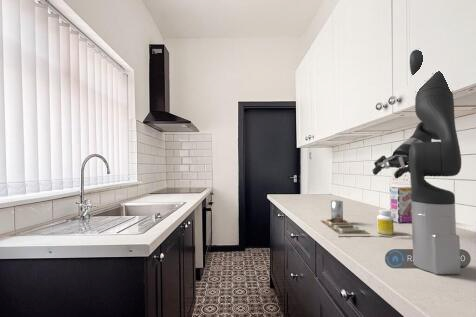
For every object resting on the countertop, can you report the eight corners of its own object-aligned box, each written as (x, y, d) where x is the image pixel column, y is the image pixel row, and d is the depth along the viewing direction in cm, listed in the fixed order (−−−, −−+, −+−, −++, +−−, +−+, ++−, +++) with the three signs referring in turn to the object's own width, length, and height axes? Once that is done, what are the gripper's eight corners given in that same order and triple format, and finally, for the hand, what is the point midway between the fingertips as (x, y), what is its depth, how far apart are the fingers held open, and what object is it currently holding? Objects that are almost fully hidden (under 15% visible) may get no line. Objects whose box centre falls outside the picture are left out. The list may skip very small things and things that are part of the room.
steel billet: (345, 224, 111) (344, 201, 112) (333, 224, 112) (333, 201, 112) (340, 222, 116) (340, 200, 117) (329, 222, 116) (329, 200, 117)
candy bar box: (399, 223, 116) (398, 187, 117) (390, 221, 121) (389, 187, 121) (417, 221, 120) (416, 187, 120) (407, 219, 124) (406, 186, 125)
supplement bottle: (395, 238, 93) (394, 211, 94) (378, 237, 95) (378, 211, 95) (392, 234, 98) (391, 209, 99) (376, 233, 100) (375, 208, 100)
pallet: (371, 236, 96) (370, 231, 96) (339, 236, 96) (339, 231, 96) (345, 222, 120) (345, 218, 120) (319, 222, 120) (319, 218, 120)
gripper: (388, 142, 105) (364, 164, 100) (426, 143, 92) (400, 168, 87) (393, 157, 107) (370, 179, 102) (431, 161, 94) (406, 186, 89)
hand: (384, 174), depth 94 cm, fingers open, 8 cm apart
